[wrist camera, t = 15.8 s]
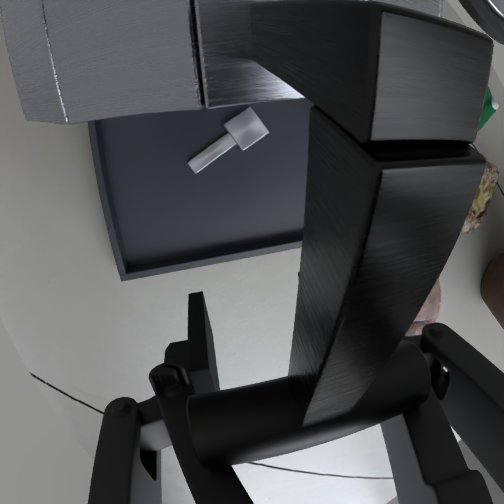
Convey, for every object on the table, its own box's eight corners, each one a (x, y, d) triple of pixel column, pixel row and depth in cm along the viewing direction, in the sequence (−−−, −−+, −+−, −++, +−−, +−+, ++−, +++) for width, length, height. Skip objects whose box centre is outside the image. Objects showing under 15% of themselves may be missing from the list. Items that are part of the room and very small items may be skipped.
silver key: (249, 107, 23) (250, 106, 23) (268, 132, 24) (269, 132, 24) (181, 155, 24) (181, 155, 23) (201, 181, 24) (201, 181, 24)
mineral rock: (468, 257, 30) (460, 211, 25) (442, 241, 33) (428, 195, 29) (508, 197, 29) (503, 147, 24) (483, 185, 33) (473, 137, 28)
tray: (336, 233, 28) (346, 238, 26) (125, 273, 26) (121, 281, 24) (313, 47, 23) (321, 40, 21) (90, 79, 21) (83, 74, 19)
